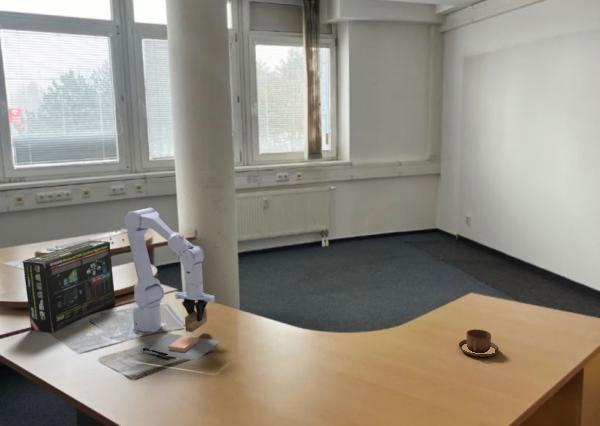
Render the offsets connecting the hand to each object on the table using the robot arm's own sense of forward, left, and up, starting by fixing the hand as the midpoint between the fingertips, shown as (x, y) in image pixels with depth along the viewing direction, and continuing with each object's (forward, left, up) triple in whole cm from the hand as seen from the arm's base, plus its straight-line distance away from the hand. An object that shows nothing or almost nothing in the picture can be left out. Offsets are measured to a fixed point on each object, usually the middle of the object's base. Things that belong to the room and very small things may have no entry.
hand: (196, 320), depth 183 cm
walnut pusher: (0, 0, -2) cm, 2 cm away
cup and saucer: (+93, +17, -7) cm, 95 cm away
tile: (0, -4, -5) cm, 6 cm away
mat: (0, -9, -6) cm, 11 cm away
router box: (-58, +5, -7) cm, 59 cm away
